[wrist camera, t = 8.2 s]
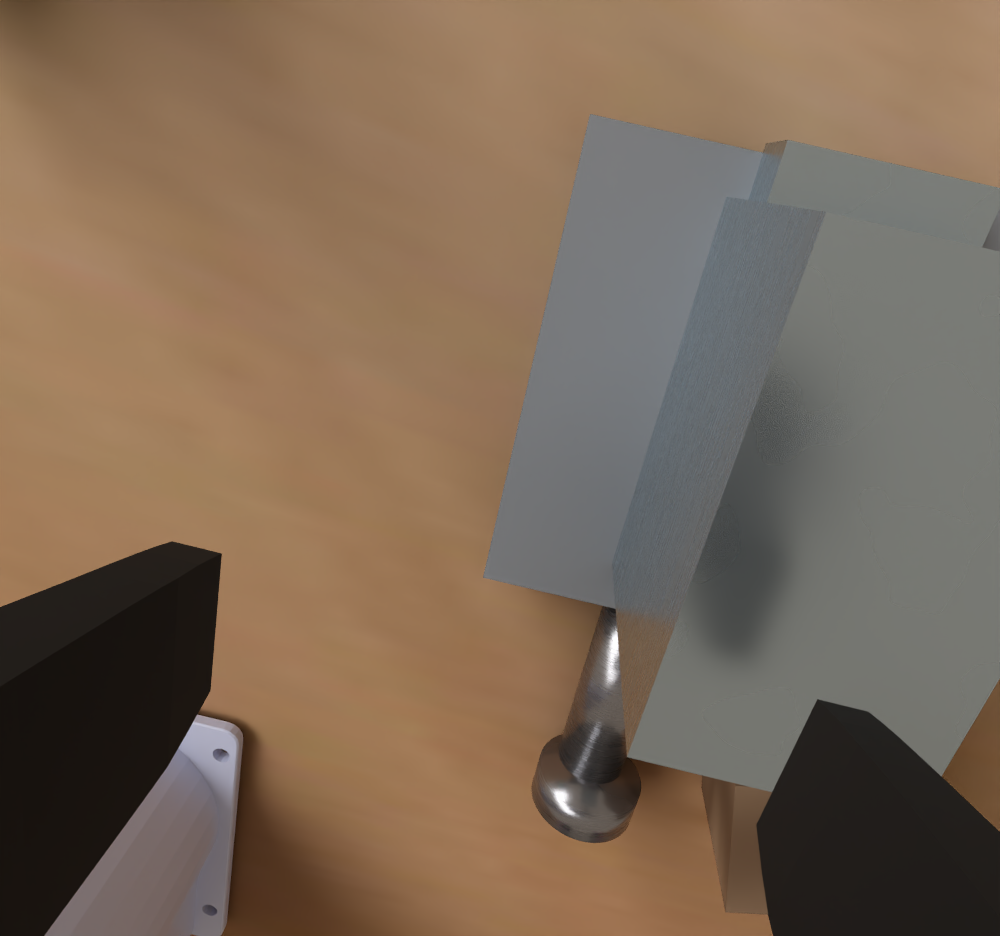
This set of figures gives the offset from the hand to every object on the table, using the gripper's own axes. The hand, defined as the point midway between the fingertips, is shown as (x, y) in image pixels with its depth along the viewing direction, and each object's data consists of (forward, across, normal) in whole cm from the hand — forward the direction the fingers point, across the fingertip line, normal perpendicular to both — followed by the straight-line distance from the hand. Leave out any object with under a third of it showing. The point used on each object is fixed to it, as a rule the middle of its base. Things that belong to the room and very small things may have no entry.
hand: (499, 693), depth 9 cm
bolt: (+10, -4, +6) cm, 12 cm away
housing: (+8, -4, -2) cm, 9 cm away
